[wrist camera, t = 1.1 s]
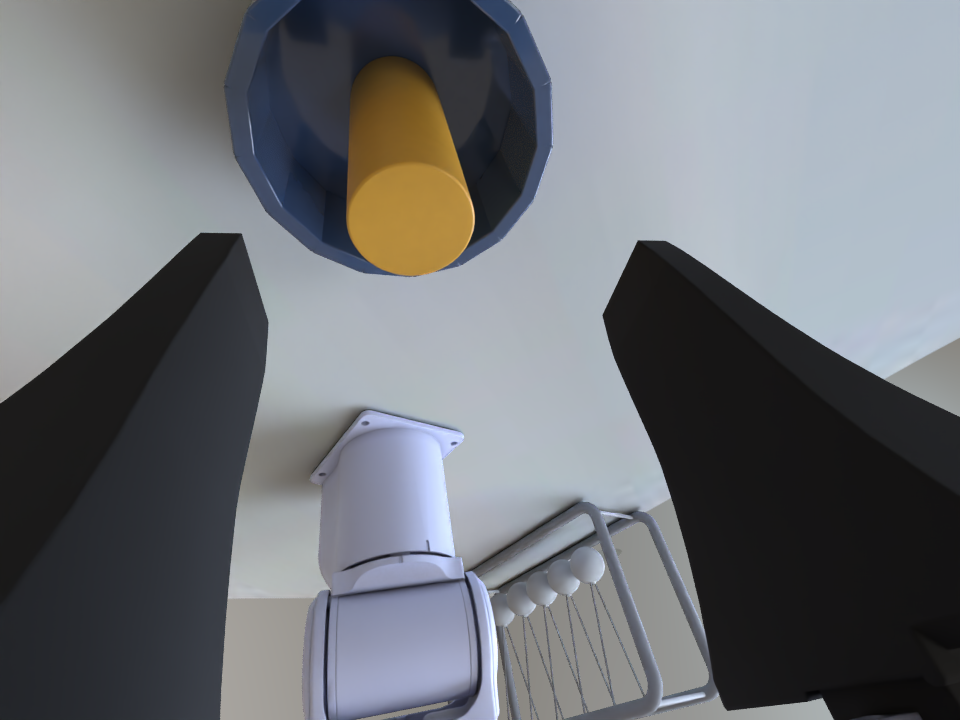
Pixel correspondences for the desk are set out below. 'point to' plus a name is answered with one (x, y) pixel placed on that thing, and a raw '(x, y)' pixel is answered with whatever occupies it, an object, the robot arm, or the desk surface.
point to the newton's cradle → (589, 569)
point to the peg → (404, 172)
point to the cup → (326, 107)
